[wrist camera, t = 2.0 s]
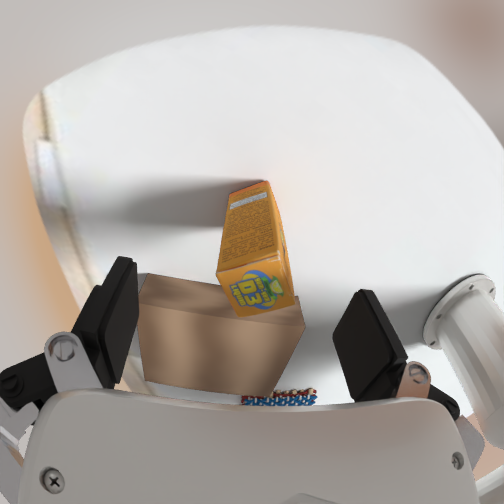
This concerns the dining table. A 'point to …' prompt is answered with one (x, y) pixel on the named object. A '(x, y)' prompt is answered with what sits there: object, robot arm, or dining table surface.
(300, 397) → the woven mat
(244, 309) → the supplement box
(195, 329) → the walnut stand
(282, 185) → the dining table surface
